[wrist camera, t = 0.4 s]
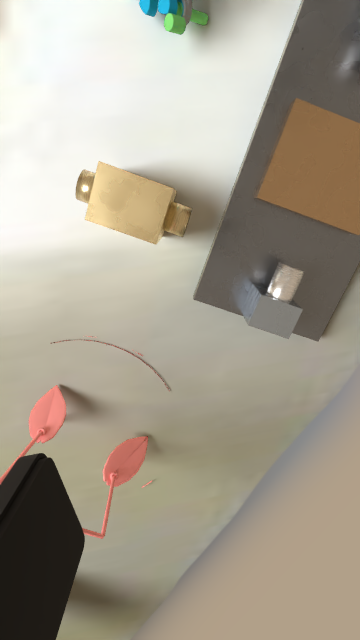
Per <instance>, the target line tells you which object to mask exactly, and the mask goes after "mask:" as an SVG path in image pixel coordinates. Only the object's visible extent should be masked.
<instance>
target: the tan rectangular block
mask: <svg viewBox="0 0 360 640" xmlns="http://www.w3.org/2000/svg"><path fill="white" fill-rule="evenodd" d="M176 193H177V191H176V190H175V189H174V188H171V187H168V186H166V185H163V184H160V183H157V182H155V181H152V180H149V179H146V178H144V177H141V176H138V175H135V174H133V173H130V172H127V171H125V170H122V169H119V168H116V167H114V166H111V165H108V164H105V163H103V162H100V161H99V162H98V166H97V170H96V173H93V172H90V171H87V170H83V171H82V172H81V174H80V176H79V178H78V181H77V186H76V199H77V200H79V201H82V202H85V203H88V208H87V212H86V217H85V220H87V221H90V222H93V223H96V224H99V225H102V226H105V227H107V228H110V229H113V230H116V231H119V232H122V233H125V234H127V235H130V236H133V237H136V238H139V239H142V240H145V241H147V242H150V243H153V244H157V243H158V242H159V240H160V239H161V238H162V237H163V234H164V231H167V232H170V233H173V234H176V235H178V236H181V237H183V235H184V232H185V229H186V226H187V223H188V220H189V217H190V214H191V211H192V208H190V207H187V206H184V205H181V204H179V203H176V202H174V199H175V196H176Z"/></svg>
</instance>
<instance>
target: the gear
mask: <svg viewBox="0 0 360 640" xmlns="http://www.w3.org/2000/svg"><path fill="white" fill-rule="evenodd" d="M158 1H159V3H158ZM139 4H140V7H141V9H142V11H143V12H144V13H145V14H146V15H149V16H153V17H154V16H155V15H156V12H157V9H158V11H159V12H160V13H162V14H166V17H165V20H164V27H165V29H166V30H167V31H169V32H173V33H176V34H180V35H181V34H183V33H184V31H185V28H186V25H187V24H188V23H189V21H192V22H195V23H198V24H201V25H206V24H207V22H208V15H207V14H205V13H203V12H200V11H197V10H194V9H192V0H140V2H139Z"/></svg>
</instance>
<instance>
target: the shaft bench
mask: <svg viewBox="0 0 360 640" xmlns="http://www.w3.org/2000/svg"><path fill="white" fill-rule="evenodd" d="M359 262H360V0H302V1H301V4H300V7H299V10H298V12H297V15H296V18H295V20H294V23H293V26H292V29H291V31H290V34H289V37H288V39H287V42H286V45H285V48H284V50H283V53H282V56H281V58H280V61H279V64H278V67H277V69H276V72H275V75H274V78H273V80H272V83H271V86H270V88H269V91H268V94H267V97H266V99H265V102H264V105H263V107H262V110H261V113H260V116H259V118H258V121H257V124H256V127H255V129H254V132H253V135H252V137H251V140H250V143H249V146H248V148H247V151H246V154H245V156H244V159H243V162H242V165H241V167H240V170H239V173H238V176H237V178H236V181H235V184H234V186H233V189H232V192H231V195H230V197H229V200H228V203H227V205H226V208H225V211H224V214H223V216H222V219H221V222H220V224H219V227H218V230H217V233H216V235H215V238H214V241H213V244H212V246H211V249H210V252H209V254H208V257H207V260H206V263H205V265H204V268H203V271H202V273H201V276H200V279H199V282H198V284H197V287H196V290H195V293H194V295H193V298H194V300H197V301H200V302H203V303H206V304H209V305H212V306H215V307H218V308H221V309H224V310H227V311H230V312H233V313H235V314H238V315H241V316H244V318H245V320H246V322H247V324H248V325H249V326H252V327H255V328H258V329H261V330H264V331H267V332H270V333H273V334H276V335H279V336H282V337H285V338H287V339H289V337H290V335H291V333H295V334H297V335H300V336H303V337H306V338H309V339H312V340H315V341H319V339H320V337H321V335H322V333H323V331H324V330H325V328H326V326H327V324H328V322H329V320H330V318H331V316H332V314H333V312H334V310H335V308H336V307H337V305H338V303H339V301H340V299H341V297H342V295H343V293H344V291H345V289H346V287H347V285H348V283H349V282H350V280H351V278H352V276H353V274H354V272H355V270H356V268H357V266H358V264H359Z"/></svg>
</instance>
